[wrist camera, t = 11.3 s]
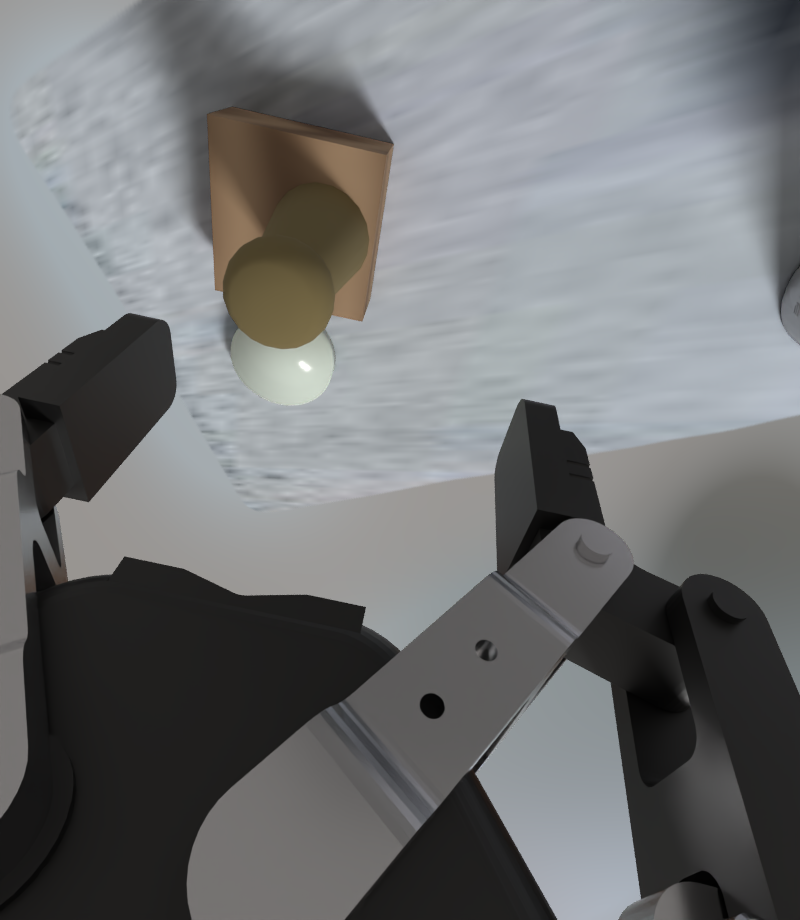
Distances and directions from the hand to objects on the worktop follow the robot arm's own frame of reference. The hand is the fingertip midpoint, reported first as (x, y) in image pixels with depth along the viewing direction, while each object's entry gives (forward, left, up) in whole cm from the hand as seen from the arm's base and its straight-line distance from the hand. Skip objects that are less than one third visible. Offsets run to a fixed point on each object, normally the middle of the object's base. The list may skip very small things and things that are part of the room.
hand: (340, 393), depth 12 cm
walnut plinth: (+7, +4, -27) cm, 28 cm away
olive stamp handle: (+5, +4, -23) cm, 24 cm away
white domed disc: (+8, +15, -27) cm, 32 cm away
